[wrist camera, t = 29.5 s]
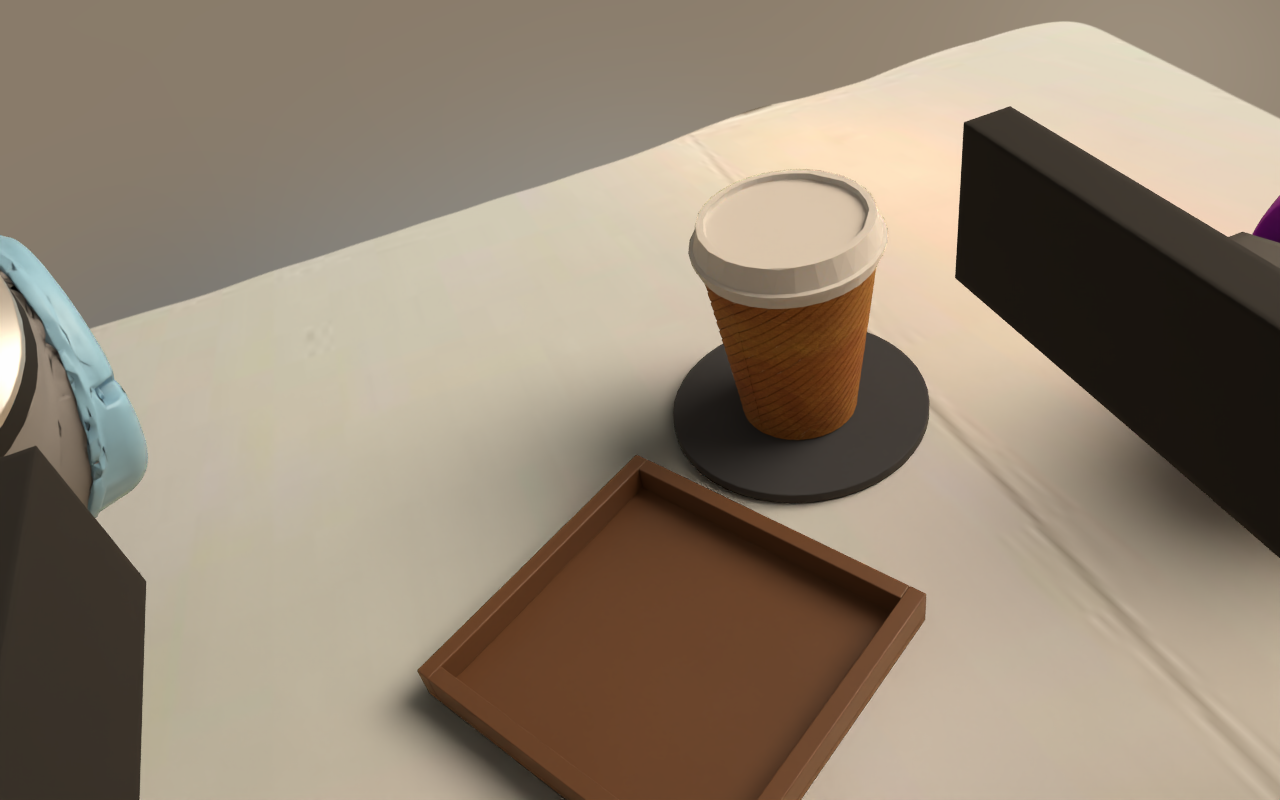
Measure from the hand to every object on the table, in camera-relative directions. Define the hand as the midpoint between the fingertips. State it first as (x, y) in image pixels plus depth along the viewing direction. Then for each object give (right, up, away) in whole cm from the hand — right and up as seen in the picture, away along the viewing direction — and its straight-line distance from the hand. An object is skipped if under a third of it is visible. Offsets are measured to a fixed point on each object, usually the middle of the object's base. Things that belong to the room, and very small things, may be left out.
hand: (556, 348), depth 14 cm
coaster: (+10, -1, +41) cm, 43 cm away
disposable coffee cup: (+10, -1, +41) cm, 42 cm away
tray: (+3, -12, +31) cm, 33 cm away
